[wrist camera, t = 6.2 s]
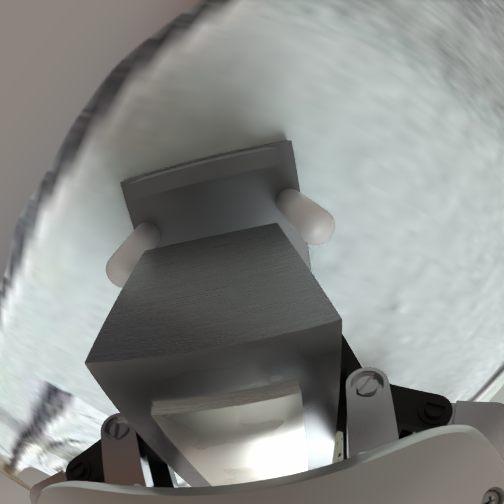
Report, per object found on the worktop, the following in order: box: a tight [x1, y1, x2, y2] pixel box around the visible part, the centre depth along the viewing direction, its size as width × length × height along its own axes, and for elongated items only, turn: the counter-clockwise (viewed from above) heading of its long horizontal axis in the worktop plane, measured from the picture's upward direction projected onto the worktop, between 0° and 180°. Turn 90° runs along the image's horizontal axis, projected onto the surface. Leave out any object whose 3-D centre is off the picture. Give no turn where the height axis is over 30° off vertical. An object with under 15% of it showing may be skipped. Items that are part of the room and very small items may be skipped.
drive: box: [85, 223, 342, 487], centre depth 9 cm, size 5×9×6 cm, turn 10°
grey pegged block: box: [106, 141, 335, 288], centre depth 16 cm, size 10×14×6 cm
